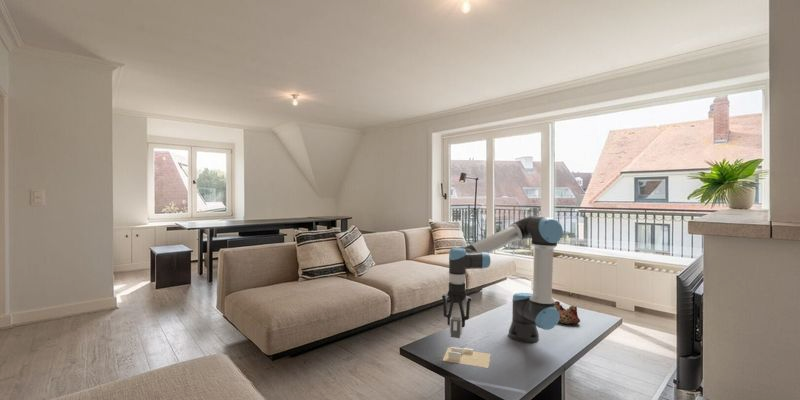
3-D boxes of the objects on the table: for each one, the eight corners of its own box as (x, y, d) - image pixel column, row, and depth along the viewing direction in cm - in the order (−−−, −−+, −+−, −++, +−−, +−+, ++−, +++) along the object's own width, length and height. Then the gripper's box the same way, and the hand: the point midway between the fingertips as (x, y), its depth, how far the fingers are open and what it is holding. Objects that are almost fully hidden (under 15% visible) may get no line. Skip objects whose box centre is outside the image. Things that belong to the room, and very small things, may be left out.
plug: (460, 335, 160) (461, 317, 160) (459, 339, 156) (459, 321, 155) (452, 333, 161) (452, 316, 161) (450, 337, 157) (450, 320, 157)
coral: (541, 303, 220) (563, 296, 221) (549, 324, 218) (571, 317, 218) (554, 306, 202) (578, 299, 203) (562, 329, 200) (587, 321, 200)
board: (490, 356, 162) (490, 347, 162) (488, 370, 149) (488, 360, 149) (448, 349, 168) (448, 340, 168) (442, 362, 155) (442, 353, 155)
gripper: (476, 282, 159) (475, 332, 160) (440, 278, 165) (439, 327, 165) (475, 286, 152) (473, 338, 153) (436, 282, 158) (436, 333, 158)
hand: (456, 332), depth 159 cm, fingers closed on plug, 4 cm apart
